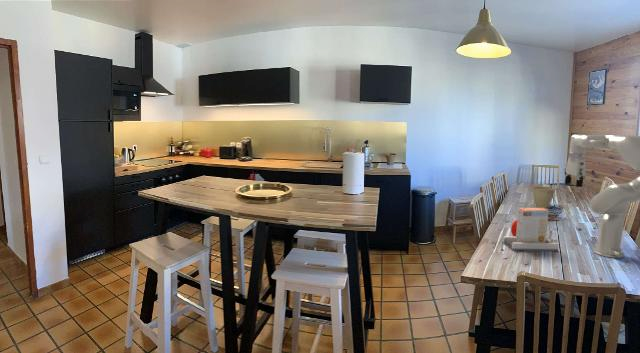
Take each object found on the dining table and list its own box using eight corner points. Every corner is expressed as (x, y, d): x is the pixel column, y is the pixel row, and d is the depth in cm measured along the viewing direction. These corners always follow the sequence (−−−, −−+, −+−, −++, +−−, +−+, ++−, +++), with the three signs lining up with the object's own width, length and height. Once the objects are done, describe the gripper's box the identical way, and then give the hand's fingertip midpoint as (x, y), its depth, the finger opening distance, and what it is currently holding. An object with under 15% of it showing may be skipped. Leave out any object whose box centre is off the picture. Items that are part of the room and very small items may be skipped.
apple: (531, 243, 205) (533, 222, 203) (513, 241, 207) (515, 221, 205) (525, 237, 214) (527, 218, 212) (507, 236, 216) (509, 217, 214)
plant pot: (532, 208, 283) (534, 189, 281) (529, 204, 297) (531, 185, 294) (554, 210, 277) (556, 190, 275) (550, 206, 291) (552, 187, 288)
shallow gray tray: (558, 251, 192) (558, 244, 192) (513, 250, 193) (513, 243, 192) (544, 243, 204) (545, 236, 204) (502, 242, 205) (503, 236, 204)
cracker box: (538, 243, 202) (542, 207, 198) (545, 247, 196) (549, 210, 192) (514, 243, 201) (517, 207, 198) (520, 247, 195) (524, 210, 192)
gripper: (594, 157, 197) (590, 188, 200) (573, 154, 214) (569, 182, 217) (580, 157, 197) (576, 187, 200) (560, 154, 214) (557, 182, 217)
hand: (573, 185), depth 208 cm, fingers open, 9 cm apart
